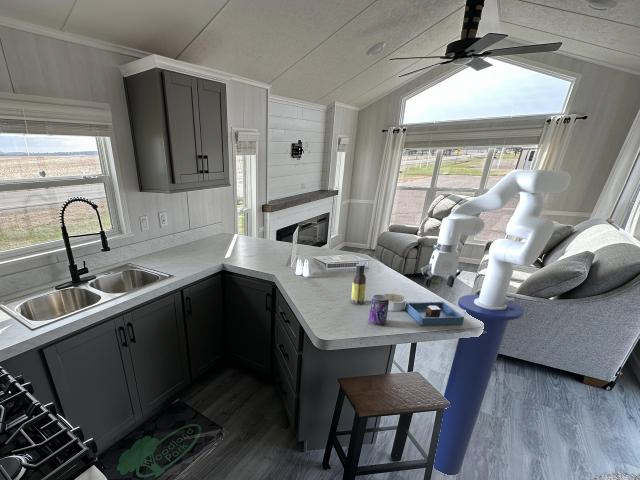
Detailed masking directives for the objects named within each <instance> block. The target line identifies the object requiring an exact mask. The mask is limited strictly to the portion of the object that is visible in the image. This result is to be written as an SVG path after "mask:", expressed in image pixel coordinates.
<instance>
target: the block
mask: <svg viewBox="0 0 640 480" xmlns="http://www.w3.org/2000/svg"><path fill="white" fill-rule="evenodd" d="M440 312H441V309H440V308H439V307H437V306H427V310H426V314H427V315H428V316H429V317H439V316H440Z"/></svg>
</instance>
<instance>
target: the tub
mask: <svg viewBox="0 0 640 480" xmlns="http://www.w3.org/2000/svg"><path fill="white" fill-rule="evenodd" d="M427 306H437V307H439V308H440V309H441V312H440V316H439V317H429V316H428V315H427V314H426V310H427ZM404 310H405V311H406V313H408V314H409V315H410V316H411V317H412V318H413V319H414V320H415V321H416V322H417V323H419V325H420V326H448V325H449V326H452V325H453V326H456V325H458V326H459V325H463V324H464V320H465V316H463V315H462V314H461V313H460V312H458V311H457V310H455V309H454V308H452V307H451V306H450V305H448V304H447V303H445V301H425V302H424V301H423V302H422V301H421V302H420V301H419V302H406V304H405V309H404Z"/></svg>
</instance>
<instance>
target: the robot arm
mask: <svg viewBox="0 0 640 480" xmlns="http://www.w3.org/2000/svg"><path fill="white" fill-rule="evenodd" d="M571 177H572V176H571V174H570V173H569V172H568V171H565V170H551V169H550V170H549V169H536V168H535V169H533V168H531V169H530V168H528V169H527V168H521V169H520V168H519V169H514V170H511V171H509V172H508V173H507V174H505V175H504V176H503V177H502V178H501V179H500V180H499V181H498V182H496V184H494V185H493V186H492V187H491V188H490V189H489V190H488V191H487V192H485V193H483V194H481V195H477V196H476V197H474V198H471V199H470V200H467V201H465V202H463V203H461V204H460V205H459V206H457V207H455V209H454V210H452V212H451V213H450V214H449V215H448V216H446V217H444V218H442V221H441V223H440V230H439V234H438V238H437V243H436V244H435V245H433V249H434V250H433V252H432V254H431V257H430V260H429V263H428V264H427V265H425V266H421V267H420V272H421V275H422V276H423V277H424V281H423V286H424V287H426V288H427V289H429V288H430V287H431V282H432V277H434V276H436V277H437V276H439V277H440V276H448V278H447V281H446V286H448V287H449V288H453V287H454V284H455V279H457V278H458V277H459V276H460V275H461V273H462V272H463V271H464V267H462V266H460V263H459V262H460V251H459V250H458V249H459V244H460V241H461V237H462V236H470V237H471V236H477V235H478V234H480V233H482V232H483V230H484V229H485V225H486V223H485V220H484V219H483V218H481V217H479V216H476V215H477V214H481V213H486V212H492V211H497V210H500V209H502V208H504V207H505V206H506V205H507V204H508V203H510V202H511V201H512V199H514V198H515V197H516V196H517V195H519V204H518V205H517V207H516V209H515V211H514V212H513V214H512V216H511V218H510V220H509V221H508V223H507V225H506V226H505V227H506V228H505V234H507V236H510V237H513V238H518V239H521V240H526V242H525V241H521V240H517V239H511V238H497V239H496V240H494V241H493V242H492V243H490V246H489V250H488V264H487V267H486V271H485V275H484V278H483V282H482V285H481V289H480V292H479V295H480V296H479V298H477V299H475V300H474V303H475V304H476V305H477V306H479V307H481V308H485V309H489V310H504V309H506V308H507V305H506V303H507V302H514V303H515V302H516V299H515V298H514V297H508V296H507V293H508V290H509V286H510V283H511V280H512V277H513V273H514V267H513V266H514V265H517V266H520V267H530V266H531V265H533V264H534V263H535V262H536V261H537V260H538V258H539V257H540V255H541V254H542V252H543V251H544V249H545V247H546V246H547V244H548V243H549V242H550V239H551V238H552V237H553V234H554V231H555V223H554V221H553V220H552V219H551V218H546V217H541V214H542V213H543V211H544V209H545V206H546V202H545V198H544V195H545V194H546V195H558V194H560V193H563V192H565V190H567V188H568V187H569V186H570V184H571V179H572V178H571Z"/></svg>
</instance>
